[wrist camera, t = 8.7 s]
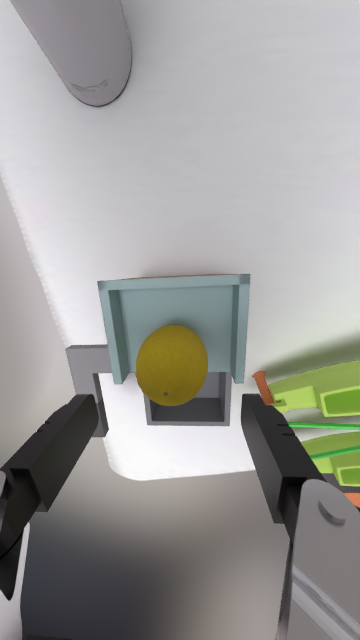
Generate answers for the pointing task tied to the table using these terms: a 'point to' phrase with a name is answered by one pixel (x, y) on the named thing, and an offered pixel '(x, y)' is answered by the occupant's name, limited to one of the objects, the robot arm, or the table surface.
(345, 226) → the table surface
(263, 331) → the table surface
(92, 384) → the tray
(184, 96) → the table surface
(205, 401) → the bin
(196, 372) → the lemon
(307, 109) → the table surface
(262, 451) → the robot arm
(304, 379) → the catamaran
